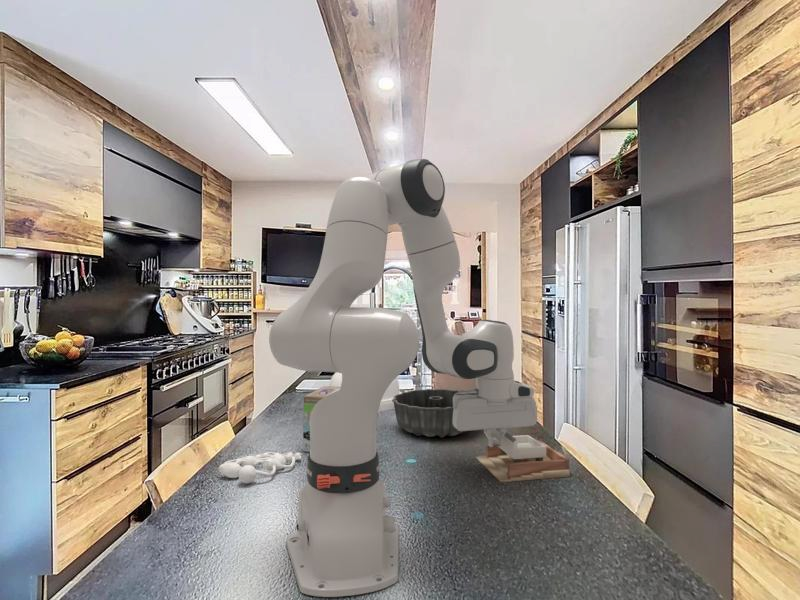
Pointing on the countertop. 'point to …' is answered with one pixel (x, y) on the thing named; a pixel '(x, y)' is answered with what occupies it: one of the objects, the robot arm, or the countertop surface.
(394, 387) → the dome cover
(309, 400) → the tea box
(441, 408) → the bundt pan
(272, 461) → the tangled rod sculpture
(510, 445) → the white tray with rod
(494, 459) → the dock
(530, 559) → the countertop surface
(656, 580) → the countertop surface
